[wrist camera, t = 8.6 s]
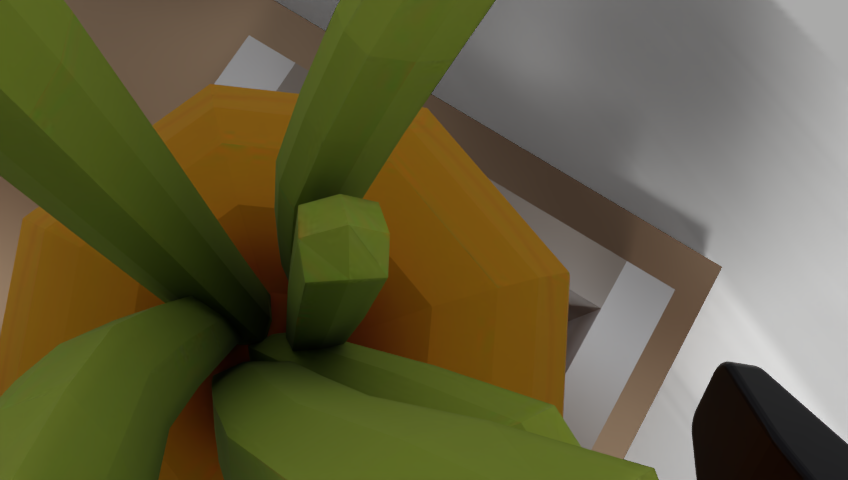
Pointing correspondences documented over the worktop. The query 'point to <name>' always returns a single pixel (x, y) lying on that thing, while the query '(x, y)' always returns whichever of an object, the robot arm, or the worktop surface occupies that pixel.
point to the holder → (495, 156)
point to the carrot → (273, 273)
